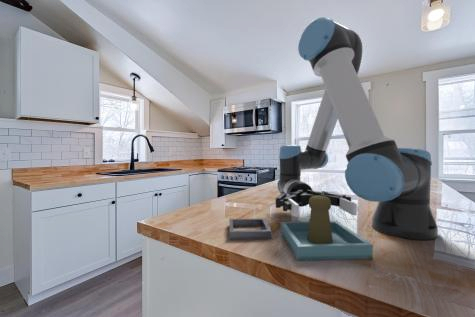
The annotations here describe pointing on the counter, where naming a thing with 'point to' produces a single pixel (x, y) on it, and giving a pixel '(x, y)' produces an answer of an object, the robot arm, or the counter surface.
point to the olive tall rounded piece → (319, 220)
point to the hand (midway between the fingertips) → (326, 210)
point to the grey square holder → (250, 233)
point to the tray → (340, 249)
